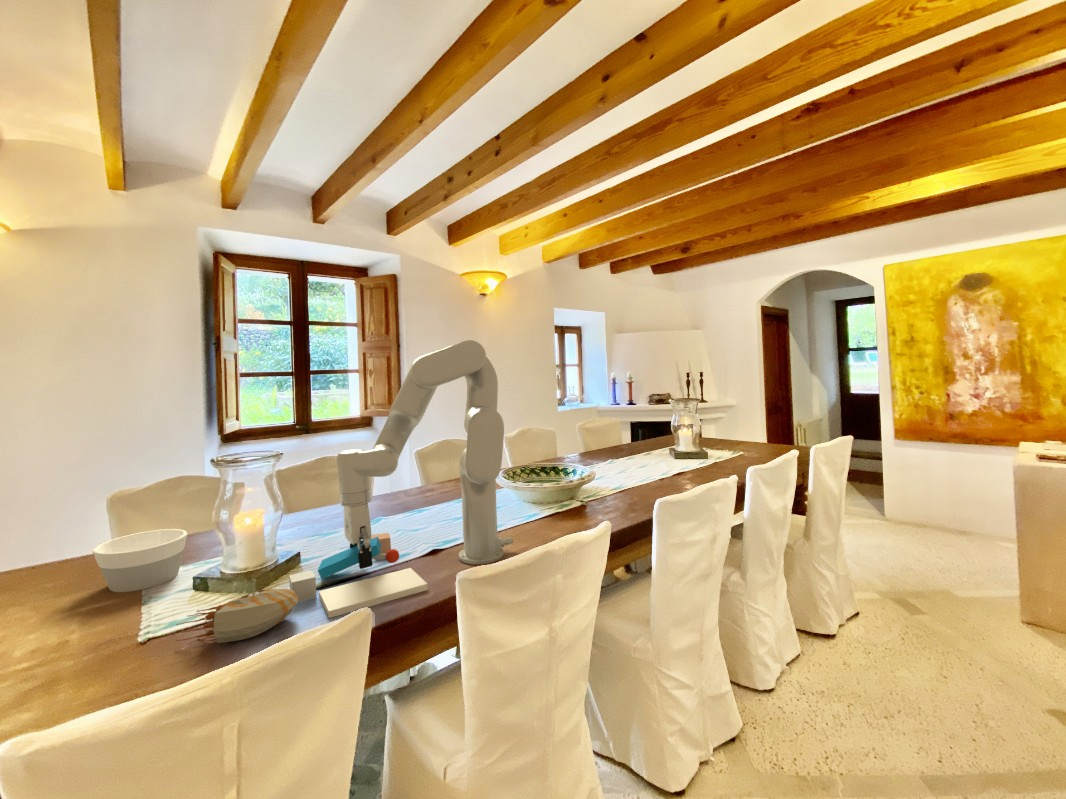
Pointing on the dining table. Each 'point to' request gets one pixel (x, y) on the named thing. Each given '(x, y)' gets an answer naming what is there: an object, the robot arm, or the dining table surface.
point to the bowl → (141, 559)
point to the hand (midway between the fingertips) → (361, 561)
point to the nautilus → (247, 615)
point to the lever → (353, 558)
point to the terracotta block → (383, 542)
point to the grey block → (303, 585)
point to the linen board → (371, 591)
